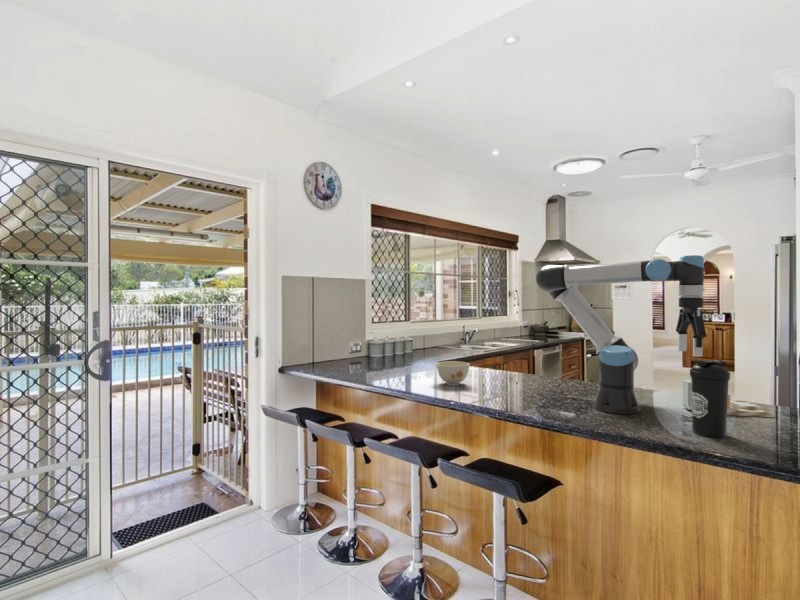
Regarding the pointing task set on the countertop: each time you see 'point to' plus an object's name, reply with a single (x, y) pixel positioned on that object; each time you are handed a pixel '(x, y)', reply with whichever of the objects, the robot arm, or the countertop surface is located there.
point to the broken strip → (745, 404)
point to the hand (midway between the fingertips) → (689, 353)
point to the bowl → (452, 371)
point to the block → (728, 402)
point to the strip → (688, 397)
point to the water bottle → (709, 398)
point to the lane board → (749, 411)
